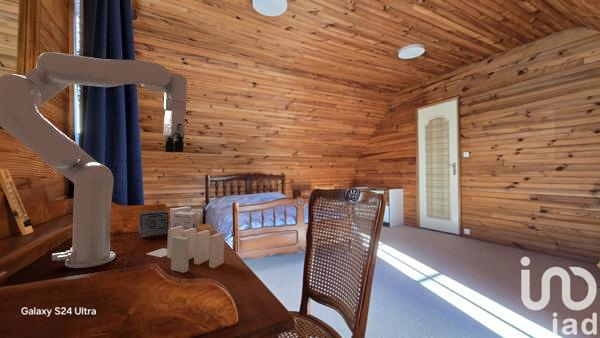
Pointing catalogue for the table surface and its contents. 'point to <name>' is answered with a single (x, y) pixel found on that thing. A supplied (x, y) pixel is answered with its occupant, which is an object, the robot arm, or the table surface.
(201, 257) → the tile
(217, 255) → the tile
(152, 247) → the table surface
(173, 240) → the tile
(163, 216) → the small box
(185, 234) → the tile
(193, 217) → the ink box
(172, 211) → the base with upright slab
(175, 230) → the tile
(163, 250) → the end pad
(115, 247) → the table surface
